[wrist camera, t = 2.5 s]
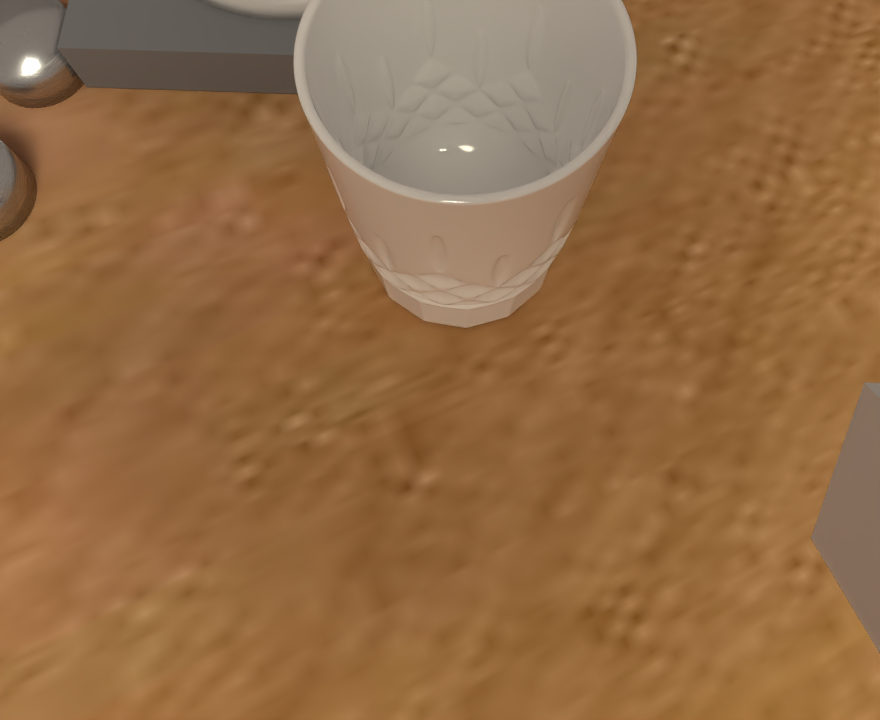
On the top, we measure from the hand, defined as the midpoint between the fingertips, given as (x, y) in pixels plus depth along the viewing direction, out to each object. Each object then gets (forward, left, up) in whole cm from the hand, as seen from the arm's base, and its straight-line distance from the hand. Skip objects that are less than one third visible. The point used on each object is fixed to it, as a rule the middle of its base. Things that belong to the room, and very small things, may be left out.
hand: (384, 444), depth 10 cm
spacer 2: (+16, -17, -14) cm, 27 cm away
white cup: (-1, -10, -14) cm, 17 cm away
